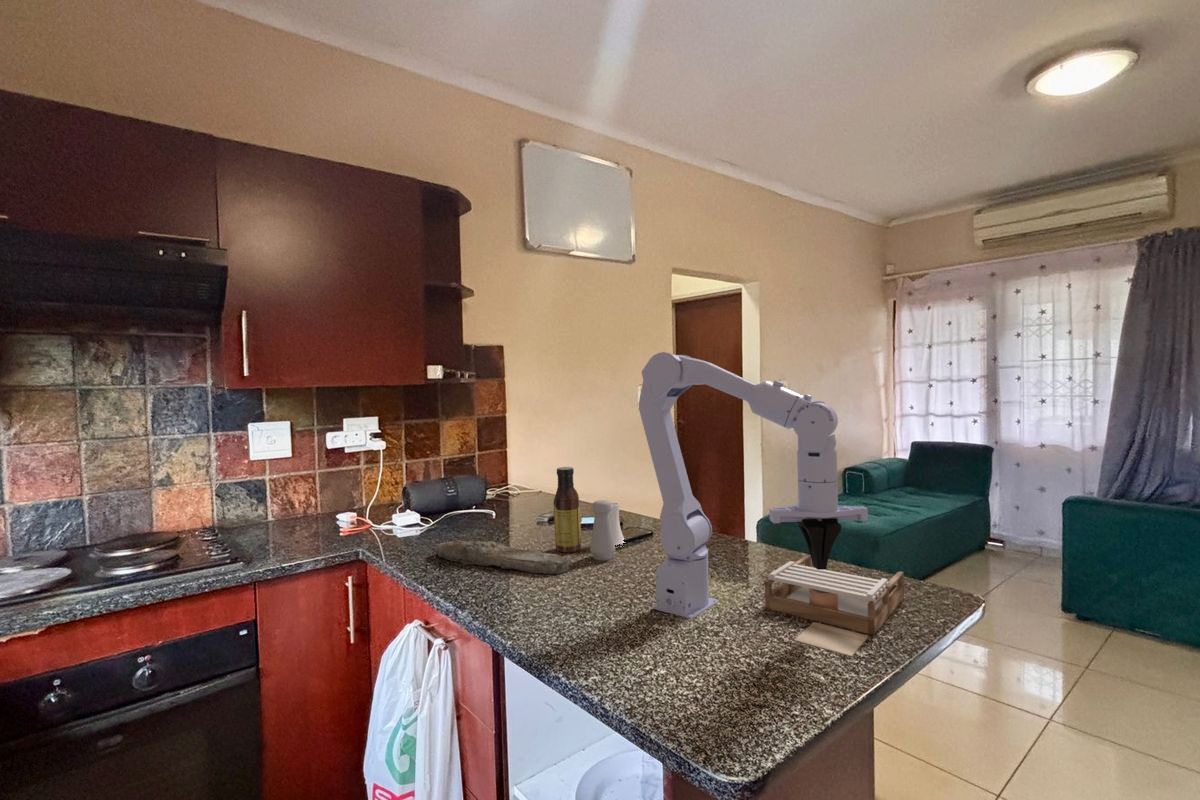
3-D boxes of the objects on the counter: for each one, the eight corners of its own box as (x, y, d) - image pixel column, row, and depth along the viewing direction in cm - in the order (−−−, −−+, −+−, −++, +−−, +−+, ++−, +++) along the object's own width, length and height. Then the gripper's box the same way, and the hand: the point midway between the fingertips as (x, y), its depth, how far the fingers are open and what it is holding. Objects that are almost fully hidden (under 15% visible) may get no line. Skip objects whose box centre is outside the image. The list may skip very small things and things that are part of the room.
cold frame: (873, 637, 82) (873, 604, 82) (765, 610, 93) (764, 581, 93) (904, 599, 96) (903, 572, 96) (806, 580, 107) (806, 555, 107)
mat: (851, 659, 75) (851, 655, 75) (794, 643, 81) (794, 639, 81) (868, 639, 81) (868, 635, 81) (813, 625, 87) (813, 621, 87)
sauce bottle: (566, 545, 136) (564, 465, 136) (586, 548, 133) (584, 466, 133) (549, 551, 131) (547, 468, 131) (569, 555, 127) (567, 470, 127)
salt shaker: (601, 563, 121) (600, 504, 121) (584, 558, 125) (583, 501, 125) (620, 558, 125) (619, 500, 124) (603, 553, 129) (602, 497, 129)
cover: (873, 601, 83) (873, 595, 83) (768, 579, 94) (768, 573, 94) (889, 585, 90) (889, 579, 90) (789, 566, 100) (789, 560, 100)
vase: (589, 545, 136) (588, 505, 136) (608, 538, 142) (608, 500, 141) (612, 550, 131) (611, 508, 131) (632, 543, 137) (631, 503, 136)
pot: (833, 621, 87) (832, 595, 87) (805, 614, 90) (804, 589, 90) (842, 612, 90) (841, 588, 90) (815, 606, 93) (814, 582, 93)
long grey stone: (554, 587, 111) (577, 575, 120) (555, 561, 111) (578, 551, 120) (423, 558, 126) (452, 549, 135) (424, 535, 126) (453, 528, 135)
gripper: (852, 475, 89) (854, 558, 89) (762, 477, 89) (764, 561, 89) (873, 481, 82) (876, 572, 82) (776, 484, 82) (779, 575, 82)
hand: (819, 567), depth 85 cm, fingers closed
